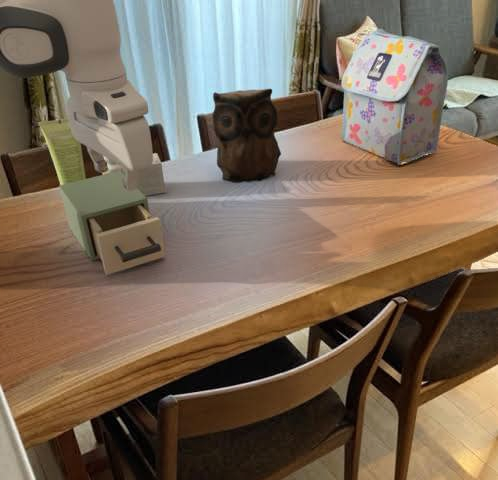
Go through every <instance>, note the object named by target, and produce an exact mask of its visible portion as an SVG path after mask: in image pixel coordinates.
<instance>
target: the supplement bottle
mask: <svg viewBox="0 0 498 480" xmlns="http://www.w3.org/2000/svg"><path fill="white" fill-rule="evenodd" d="M103 157H104V160H106V161H107V166H108V171H107V172H104V173H102V175H104V174H108V173H113V172H117V171H121V172H122V173H123V174H124V175H125V172H124V171H123V167H122V166H120V165H119V164H117V163H115V162H113V161H112V160H110V159H108V158H106V157H105V156H103Z"/></svg>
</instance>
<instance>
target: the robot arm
mask: <svg viewBox="0 0 498 480" xmlns="http://www.w3.org/2000/svg"><path fill="white" fill-rule="evenodd" d="M121 36H122V35H121V31H120V26H119V20H118V15H117V10H116V5H115V3H114V0H0V68H1V69H2V70H3V71H5V72H6V73H7V74H9V75H11V76H14V77H17V78H22V79H30V78H36V77H42V76H46V75H49V74H52V73H56V72H58V71H61V72H63V73H64V76H65V81H66V85H67V91H68V94H69V97H68V98H67V100H66V109H67V114H68V115H67V116H68V118H69V122H70V128H71V132H72V134H73V136H74V138H75V140H76V141H78V142H80V143H81V145H84V146H85V147H86V149H87V153H88V155H89V156H90V159H91V160H92V162H93V167H94V170H95V171H96V172H98V173H99V174H103V173H104V172H107V171H108V166H107V161H106V160H104V157H103V156H105V157H106V158H108V159H110V160H112V161H113V162H115V163H117V164H119V165H120V166H122V167H123V171H124V172H125V178H124V179H122V180H123V184H124V188H126V189H127V190H129V191H133V190H135V189H137V188H138V184H137V176H138V173H139V171H141V170H144V169H147V168H149V167H150V166H151V164H152V162H153V154H154V153H153V144H152V143H153V142H152V135H151V129H150V125H149V123H148V120H147V118H146V117H145V115H147V114H149V105H148V101H147V99H145V97H144V96H143V95H142V94H140V93H139V92H138V91H137V89H136V88H135V87H134V85H133V84H132V83H131V81H130V80H128V75H127V70H126V66H125V64H124V62H123V59H122V55H121V43H122V37H121Z"/></svg>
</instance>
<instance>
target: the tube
mask: <svg viewBox="0 0 498 480" xmlns="http://www.w3.org/2000/svg"><path fill="white" fill-rule="evenodd" d="M38 125H39V128H40V130H41V132H42V134H43V137H44V139H45V142H46V145H47V147H48V150H49V154H50V157H51V160H52V162H53V166H54V168H55V171H56V174H57V178H58V182H59V185H63V184H67V183H71V182H76V181H80V180H84V179H87V178H86V172H85V166H84V165H85V164H84V157H83V152H82V143H80V142H78V141H76V140H75V138H74V136H73V134H72V132H71V128H70V122H69V117H68V118H63V119H61V118H60V119H55V120H48V121H40V122H38Z"/></svg>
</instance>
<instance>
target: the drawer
mask: <svg viewBox="0 0 498 480" xmlns="http://www.w3.org/2000/svg"><path fill="white" fill-rule="evenodd" d="M86 220H87V225H88V229H89V233H90V237H91V241H92V245H93V248H94V250H95V251H96V253H97V254H98V255H99V257H100V258H101V259H100V260H101V261H102V262H101V263H102V265H103V270H104V271H103V272H104V273H105V274H106V275H107V276H109V275H110V274H111V275H112V274H114V273H117V272H120V271H124V270H127V269H130V268H133V267H136V266H139V265H143V264H146V263H149V262H152V261H156V260H159V259H162V258H164V257H166V252H165V244H164V238H163V237H164V236H163V231H162V222H161V219H160V217H158V216H154V217H152V215H151V214H150V212H149V213H148V212H147V211H146V210H145V209H144V208H143V207H142V206H141V204H138V205H134V206H131V207H127V208H123V209H120V210H116V211H112V212H109V213H105V214H101V215H97V216H94V217H90V218H86ZM138 221H141V222H138ZM136 222H137V223H136Z"/></svg>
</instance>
